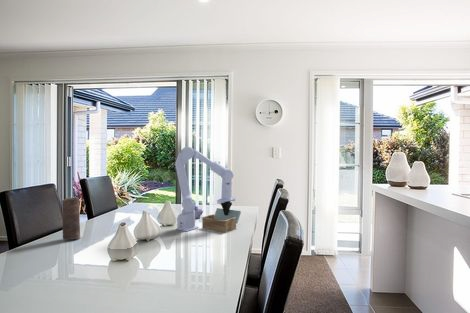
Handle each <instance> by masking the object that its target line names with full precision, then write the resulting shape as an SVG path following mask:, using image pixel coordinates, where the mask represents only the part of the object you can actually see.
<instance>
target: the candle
mask: <svg viewBox="0 0 470 313" xmlns="http://www.w3.org/2000/svg"><path fill="white" fill-rule="evenodd" d="M61 208H62V210H61V211H62V212H61V213H62V218H61V220H62V239H63V240H68V241H69V240H74V239H75V240H76V239H77V240H79V239H81V222H80V197H66V198H65V199H62V200H61Z"/></svg>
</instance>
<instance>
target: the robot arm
mask: <svg viewBox="0 0 470 313" xmlns="http://www.w3.org/2000/svg"><path fill="white" fill-rule="evenodd" d="M191 159H194V160H195V159H197V160H199V161H200V162H202V163H203V164H205V165H207V166H209V168H210V171H212V173H213V172H214V174H216V175H218V176H220V178H221V198H219V199H217V200H216V202H217V205H218V204H220V206H221V209H223V211H224V215H228V213H229V210H231V207H232V205H233V202H236V197H233V196H232V195H233V182H232V180H233V178H234V175H235V174H234V173H233V171H232V170H231V169H228V167H227V166H224V165H223V164H221V162H220V161H213V160H212V159H210V158H208V157H207V156H206V155H204V154H203V153H201V152H200V151H198V150H196V149H194V148H192V147H191V146H185V147H182V149H181V150H179V152H178V155H177V158H176V160H175V162H174V164H175V169H176V170H175V171H176V174H177V179H178V183H179V188H180V193H181V199H182V202H181V207H182V208H183V209H182V210H181V213H179V214H178V215H177V218H176V219H177V220H176V221H177V226H176V230H178V231H183V232H189V231H192V230H196V229H198V228H199V226H197V225H196V218H195V210H194V209H195V205H196V204H195V202H194V201H193V199H192V196H191V190H190V185H189V181H188V177H187V176H188V175H187V172H186V167H185V165H187V163H188V162H189V160H191Z"/></svg>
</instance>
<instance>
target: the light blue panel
mask: <svg viewBox="0 0 470 313" xmlns="http://www.w3.org/2000/svg"><path fill="white" fill-rule="evenodd" d="M241 213H242V211H241V210H235V209H229V213H228V215H224V211H223V208H219V207H218V208H216V210H215V213H214V219H216V220H222V221H224V220H227V219H231V218H234V217H235V218H236V225H238V223H239V220H240V216H241Z"/></svg>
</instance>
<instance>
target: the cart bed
mask: <svg viewBox="0 0 470 313" xmlns="http://www.w3.org/2000/svg"><path fill="white" fill-rule="evenodd" d="M214 215H215V213H214V214H208V215H205V216H202V217H201V219H202V220H201V221H202V224H201V228H202V229H206V230H211V231H217V232H223V233H228V232H229V233H230V231H233V230H237V224H236V218H235V217H234V218H231V219H227V220H224V221H222V220H216V219H214Z"/></svg>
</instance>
